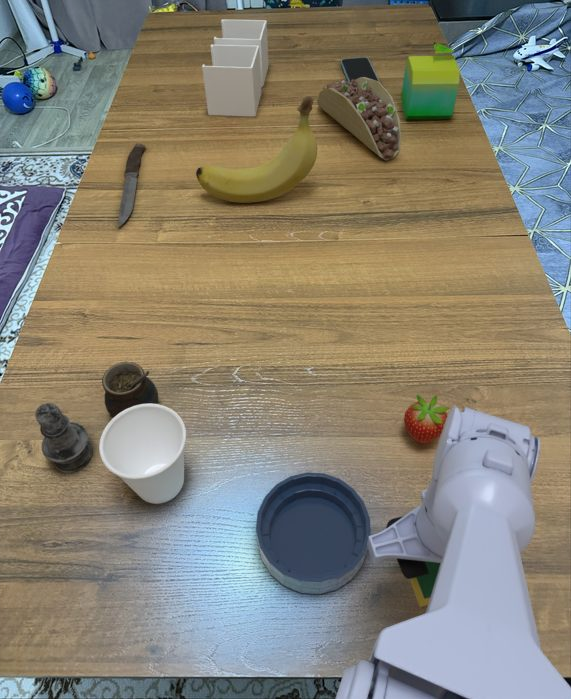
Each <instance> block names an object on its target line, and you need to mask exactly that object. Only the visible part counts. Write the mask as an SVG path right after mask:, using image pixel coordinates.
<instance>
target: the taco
mask: <svg viewBox="0 0 571 699" xmlns="http://www.w3.org/2000/svg"><path fill="white" fill-rule="evenodd" d="M316 102H317V103H316V104H317V106H318V107H319V108H320V109H322V111H324V112H325V113H326V114H328V115H329V116H330V117H331V118H332V119H334V120H335V121H336V122H337V123H339V124H340V125H341V126H342V127H343V128H344V129H346V130H347V131H348V132H349V133H350V134H351V135H353V136H354V137H355V138H356V139H357V140H359V141H360V142H361V143H362V144H364V145H365V146H366V147H367V148H368V149H370V150H371V151H372V152H374V153H375V154H376V155H377V156H378V157H380V158H381V159H383V160H384V161H389V160H392V159H395V158H396V157H397V155H398V154H399V153H400V150H401V146H402V134H401V131H402V130H401V119H400V116H399V112H398V110H397V107H396V104H395V101H394V99H393V95H391V94H390V92H389V91H387V89H386V88H385V86H383V85H382V83H381V82H380V81H379V82H378V81H376V80H372V79H369V78H366V77H360V78H358V79H356V80H354V79H352V80H351V82H348V81H347V80H345V79H343V80H341V81H339V80H337V82H334V81H331V82H328V83H327V84H326V87H325V86H322V89H321V90H319V94H318V97H317V101H316Z"/></svg>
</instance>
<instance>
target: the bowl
mask: <svg viewBox="0 0 571 699" xmlns="http://www.w3.org/2000/svg"><path fill="white" fill-rule="evenodd" d="M255 524H256V525H255V534H256V540H257V545H258V549H259V554H260V559H261V561H262V562H263V564H264V566H265V567H266V569H267V571H268V572H269V574H270V575H271V576H272V577H273V578H274V579H276V581H278V582H279V583H280V584H281V585H282V586H284V587H286V588H288V589H290V590H292V591H296V592H298V593H300V594H314V595H321V594H325V593H329V592H333V591H337V590H339V589H340V588H341V587H343V586H344V585H346V584H348V583H349V582H350V581H351V580H353V579H354V577H355V576H356V574H357V573H358V572H359V571H360V569H361V568H362V566H363V565H364V561H365V558H366V555H367V553H368V547H367V541H368V537H369V536H371V518H370V515H369V512H368V509H367V506H366V504H365V502H364V500H363V499H362V498H361V496H360V495H359V494H358V493H357V491H356V489H354V488H353V487H352V486H350V485H349V484H348V483H346V481H344V480H342V479H340V478H339V477H335V476H333V475H330V474H327V473H325V472H303V473H298V474H294V475H290V476H288V477H287V478H285V479H283V480H281V481H280V482H278V483H276V484H275V485H274V486H273V487H272V488H271V490H269V492H267V494H266V495H265V496H264V498H263V499H262V502H261V504H260V507H259V509H258V511H257V514H256V523H255Z"/></svg>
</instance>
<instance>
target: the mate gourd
mask: <svg viewBox="0 0 571 699" xmlns="http://www.w3.org/2000/svg"><path fill="white" fill-rule="evenodd" d="M149 374H150V371H149V370H147V371H146V372H145V371H144V369H143V367H142V366H141V365H139V364H138V363H136V362H133V361H126V360H125V361H120V362H118V363H115V364H113V365H111V366H110V367H109V368H108V369H106V371H105V372H104V373H103V376H102V378H101V385H102V388H103V389H104V405H105V409H106V411H107V412H108V414H109V417H111V419H113V418H114V417H115V416H116V415H118V414H119V413H120V412H122V411H124V410H125V409H128V408H130V407H133V406H136V405H140V404H149V403H151V404H159V393H158V392H159V391H158V388H157V387H156V385H155V384H154V382H153V381H152V380H151V379H150V378H149V377H148V376H149Z"/></svg>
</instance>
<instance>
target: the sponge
mask: <svg viewBox="0 0 571 699" xmlns="http://www.w3.org/2000/svg"><path fill="white" fill-rule="evenodd" d="M425 563H426V566H427V568H428V571H429V574H427V575H423V576H419V577H415V578H411V579H409V582H410V584H411V587H412V589H413V592H414V595H415V597H416V601H417V603H418V605H419V608H422V607H425V606H428V604H429V601H430V597H431V594H432V591H433V587H434V584H435V581H436V577H437V574H438V571H439V567H440V564H441V563H437V562H428V561H425Z"/></svg>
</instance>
